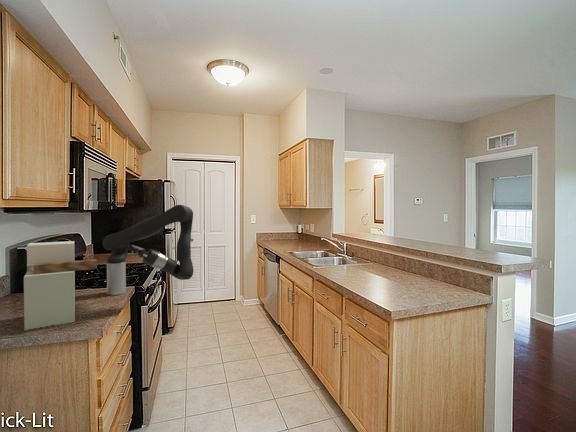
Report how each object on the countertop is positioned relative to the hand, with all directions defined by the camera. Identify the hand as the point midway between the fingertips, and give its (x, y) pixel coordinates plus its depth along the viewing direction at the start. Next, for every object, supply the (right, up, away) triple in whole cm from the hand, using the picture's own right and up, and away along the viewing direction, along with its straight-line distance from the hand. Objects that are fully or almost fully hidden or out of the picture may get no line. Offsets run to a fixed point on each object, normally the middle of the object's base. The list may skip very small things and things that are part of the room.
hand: (123, 244), depth 142 cm
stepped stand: (-24, -31, -12) cm, 41 cm away
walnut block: (-18, -10, -14) cm, 25 cm away
